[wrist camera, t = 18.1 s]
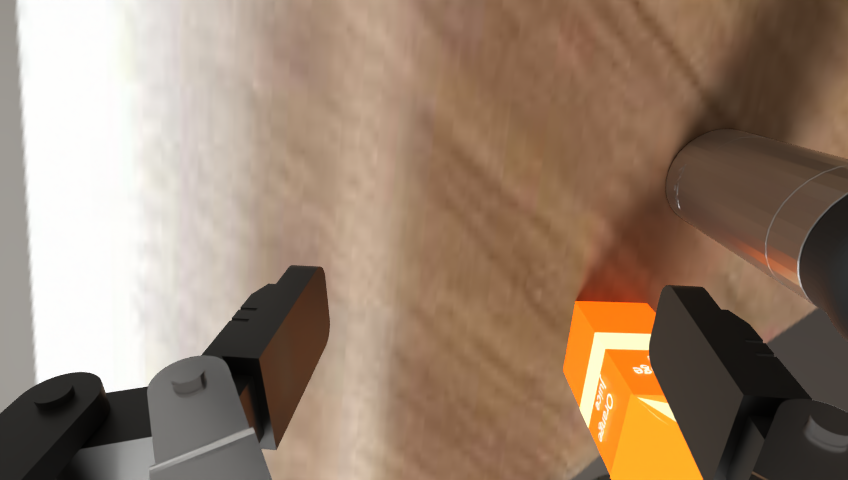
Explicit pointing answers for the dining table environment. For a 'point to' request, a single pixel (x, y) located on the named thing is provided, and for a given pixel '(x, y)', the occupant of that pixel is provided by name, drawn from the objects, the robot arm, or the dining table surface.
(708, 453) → the robot arm
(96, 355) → the dining table surface
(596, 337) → the orange juice
